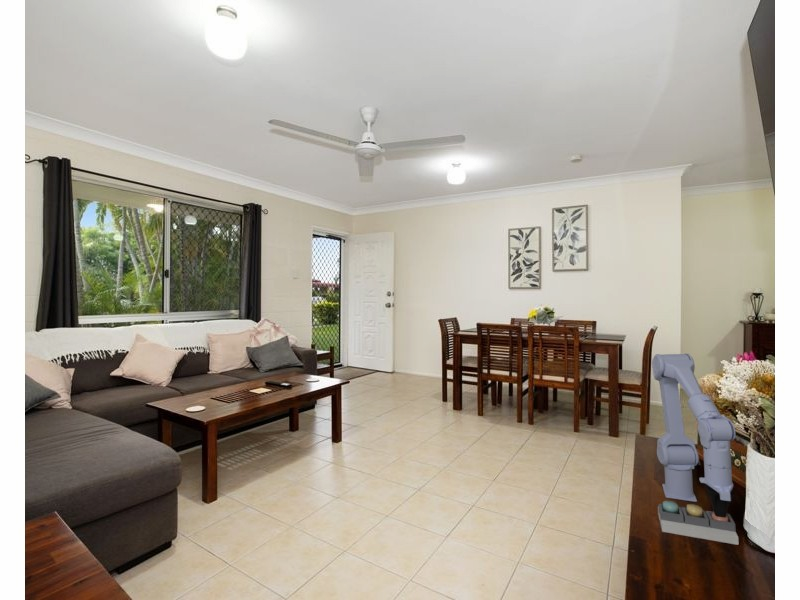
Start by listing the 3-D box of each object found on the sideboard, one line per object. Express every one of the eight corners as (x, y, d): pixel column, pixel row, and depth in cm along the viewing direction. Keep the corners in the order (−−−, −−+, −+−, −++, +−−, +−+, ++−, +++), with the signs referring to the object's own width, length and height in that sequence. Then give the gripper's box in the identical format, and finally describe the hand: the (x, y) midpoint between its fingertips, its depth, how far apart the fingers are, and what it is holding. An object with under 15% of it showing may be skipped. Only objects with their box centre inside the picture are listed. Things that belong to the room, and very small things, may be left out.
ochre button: (686, 510, 114) (685, 503, 114) (701, 512, 112) (700, 505, 112) (688, 516, 111) (687, 509, 111) (703, 518, 109) (703, 511, 109)
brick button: (710, 518, 111) (710, 511, 111) (726, 520, 110) (726, 513, 110) (713, 524, 108) (713, 517, 108) (730, 527, 107) (729, 520, 107)
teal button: (662, 506, 116) (662, 499, 116) (676, 508, 115) (676, 501, 115) (664, 512, 113) (663, 505, 113) (678, 514, 112) (678, 507, 112)
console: (658, 513, 119) (657, 499, 119) (728, 524, 112) (727, 509, 112) (662, 531, 110) (661, 516, 110) (738, 544, 103) (737, 528, 103)
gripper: (693, 452, 117) (696, 500, 117) (704, 472, 104) (707, 526, 104) (724, 455, 114) (727, 505, 114) (740, 477, 101) (742, 532, 101)
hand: (720, 515), depth 109 cm, fingers closed, pressing on brick button
